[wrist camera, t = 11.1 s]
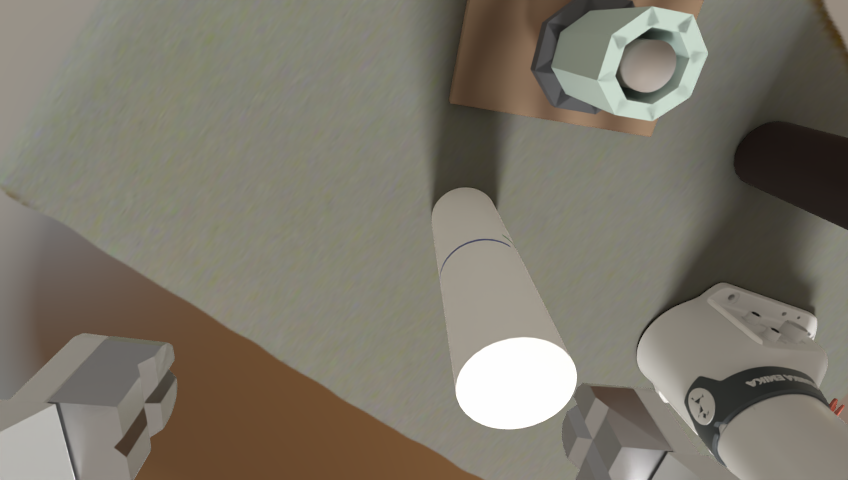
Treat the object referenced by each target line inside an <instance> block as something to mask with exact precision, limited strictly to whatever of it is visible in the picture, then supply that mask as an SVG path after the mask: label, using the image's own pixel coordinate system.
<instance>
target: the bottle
mask: <svg viewBox="0 0 848 480" xmlns="http://www.w3.org/2000/svg"><path fill="white" fill-rule="evenodd" d="M734 167H735V171H736V174H737V175H738V176H739V178H740V179H741V180H742V181H744V182H746V183H748V184H750V185H752V186H754V187H756V188H758V189H760V190H763V191H765V192H767V193H769V194H771V195H773V196H776V197H778V198H780V199H782V200H784V201H786V202H788V203H791V204H793V205H795V206H797V207H799V208H801V209H804V210H806V211H808V212H810V213H812V214H814V215H817V216H819V217H821V218H823V219H825V220H827V221H830V222H832V223H834V224H836V225H838V226H840V227H842V228H845V229H847V230H848V138H846V137H842V136H838V135H834V134H830V133H826V132H822V131H819V130H815V129H811V128H807V127H803V126H799V125H795V124H791V123H787V122H779V121H778V122H772V123H767V124H764V125H762V126H760V127H758V128H756V129H755V130H754V131H752V132H751V133H750V134H749V135H747V136H746V138H745V139H744V140H743V141H742V143H741V144H740V145H739V148H738V150H737V152H736V155H735V161H734Z"/></svg>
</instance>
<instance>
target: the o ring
mask: <svg viewBox="0 0 848 480" xmlns="http://www.w3.org/2000/svg"><path fill="white" fill-rule="evenodd" d="M621 8H635V5H634V3H633V1H631V0H572V1H571V2H569V3H568V4H567V5H565V6H564V7H562V8H561V9H560V10H558V11H557V12H556V13H554V14H553V15H552V16H550V17H549V18H548V19H546V20H545V21H544V22H542V25H541V29H540V33H539V37H538V41H537V45H536V49H535V53H534V57H533V61H532V65H531V68H530V69H531V71H532V73H533V75H534V77H535V78H536V80H537V82H538V84H539V85H540V87H541V89H542V91H543V92H544V94H545V96H546V98H547V100H548V101H549V103H550V105H552V106H554V107H555V108H561V109H567V110H573V111H579V112H585V113H591V114H597V113H598V112H600V111H601V110H602V109H600V108H597V107H595V106H593V105H590V104H588V103H586V102H583V101H581V100H579V99H576V98H574V97H572V96H569V95H567V94H565V92H564V90H563V88H562V86H561V84H560V82H559V81H558V79H557V77H556V75H555V73H554V71H553V70H552V68H551V65H552V62H553V58H554V54H555V51H556V47H557V43H558V40H559V36H560V32H562V31H563V30H564V29H566V28H567V27H568V26H570V25H571V24H573V23H574V22H575V21H577V20H578V19H579V18H581V17H582V16H584V15H585V14H586V13H588V12H589V11H593V10H607V9H621Z"/></svg>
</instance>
